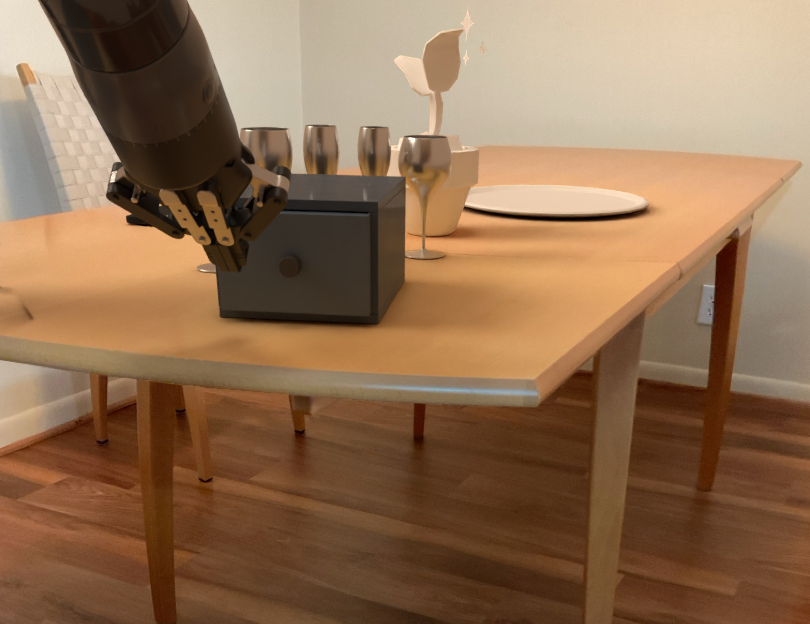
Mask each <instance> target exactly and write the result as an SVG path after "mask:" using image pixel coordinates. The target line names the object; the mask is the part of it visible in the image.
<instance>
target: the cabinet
mask: <svg viewBox="0 0 810 624" xmlns="http://www.w3.org/2000/svg"><path fill="white" fill-rule="evenodd" d="M252 193H253V187H252V186H251V185H250V184H249V185H248V187H247V188H246V189H245V191H244V192H243V194H242V195H241V196H240V198H239V199H238V201H237V202H236V204H237V207H238V208H244V204H245V203H246V202H247V200H248V199H249V198H250V197H251V195H252ZM284 209H286V210H317V211H349V212H369V213H368V214H370V215H371V314H370V315H369V316H346V315H324V314H301V313H279V312H256V311H233V310H221V300H220V288H219V276H218V265H215V267H216V273H215V276H216V288H217V289H216V290H217V300H218V313H219V317H220V318H237V319H240V318H241V319H258V320H280V321H281V320H282V321H283V320H284V321H305V322H323V323H324V322H328V323H345V324H346V323H347V324H349V323H350V324H369V325H370V324H371V325H379V323H380V322H381V321H382V319H383V317H384V315H385V314H386V312H387V310H388V309H389V307H390V306H391V304H392V302H393V300H394V299H395V297H396V295H397V294H398V292H399V291H400V289H401V287H402V286H403V284H404V282H405V281H406V257H405V251H406V231H405V213H406V177H400V176H363V175H362V174H360V175H359V174H358V175H357V174H356V175H355V174H337V175H326V174H307V173H291V179H290V185H289V192H288V198H287V204H286V206H285V208H284Z"/></svg>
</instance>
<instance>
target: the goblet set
mask: <svg viewBox="0 0 810 624" xmlns="http://www.w3.org/2000/svg"><path fill="white" fill-rule="evenodd" d="M303 129H304V131H303V138H302V139H303V140H302V155H303V162H304V167H305V171H306V174H326V175H338V170H339V165H340V151H341V150H340V139H339V133H338V128H337V125H335V124H306V125H304V128H303ZM402 137H403V140H402V144H401V147H400V151H399V156H398V168H399V172H400V175H401V177H406V184H407V185H408V186H409V187H410V188H411V189H412V191H413V192H414V193H415V195H416V196H417V198H418V200H419V203H420V207H421V213H422V236H421V248H419V249H411V250H405V258H409V259H413V260H415V259H416V260H435V259H440V258H442V257H445V253H444V252H442V251H439V250H436V249H435V250H434V249H427V248H426V236H425V227H426V214H427V209H428V205H429V202H430V200H431V198H432V196H433V195H434V193H435V192H436V191H437V190H438V189H439V188H440V187H441V186H442V184H443V183H444V182H445V181H446V180H447V178H448V177H449V175H450V172H451V169H452V154H451V149H450V145H449V141H448V138H447V137H446V136H439V135H418V134H410V135H409V134H408V135H404V136H402ZM239 138H240V140H241V142H242V143H243V144H244V145H245V146H246V147H247V148H248V149H249V150H250V151H251V152H252V154H253V156H254V159H255V164H256V165H258V166H260V167H262V168H264V169H266V170H269V171H272V170H273V169H274V167H276V166H285V167H287V168H289V169H290V171H291V172H292V167H293V158H294V157H293V155H294V154H293V142H292V137H291V132H290V128H288V127H281V126H280V127H279V126H250V127H242V128H240V133H239ZM391 140H392V139H391V133H390V128H389V126H384V125H383V126H382V125H381V126H380V125H364V126H363V125H362V126H360V127H359V130H358V137H357V161H358V166H359V170H360V174H361V175H363V176H387V173H388V170H389V166H390V161H391V145H392V141H391ZM196 270H197V271H199V272H203V273H211V274H212V273H213V274H214V273H215V274H216V267H215V265H214V264H212V263H211V262H205V263H201V264H199V265H198V266H197V267H196Z"/></svg>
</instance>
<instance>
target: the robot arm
mask: <svg viewBox="0 0 810 624" xmlns="http://www.w3.org/2000/svg"><path fill="white" fill-rule="evenodd" d="M37 1H38V3H39V6H40V8H41V9H42V11H43V13H44V15H45V16H46V19H47V21H48V22H49V24H50V26H51V28H52V30H53V32H54V33H55V35H56V37H57V38H58V40H59V42H60V44H61V46H62V48H63V49H64V52H65V54H66V56H67V58H68V62H69V63H70V66H71V69H72V72H73V75H74V78H75V81H76V82H77V83H78V84H77V85H78V86H79V88H80V90H81V93H82V94H83V96H84V98H85V99H86V101H87V103H88V104H89V107H90V108H91V110H92V112H93V113H94V115H95V117H96V120H97V121H98V123H99V125H100V127H101V129H102V130H103V131H104V134H105V136H106V137H107V139H108V141H109V143H110V145H111V147H112V149H113V150H114V152H115V154H116V155H117V158H118V160H119V161H115V162H113V164H112V167H111V171H110V174H109V177H108V181H107V189H106V192H105V198H106V200H108V201H110V203H113V204H114V205H115V206H117V207H119V208H121V209H123V210H124V211H126V212H128V213H130V214H133V215H134V216H136V217H138V218H140V219H141V220H143V221H145V222H146V223H148V224H150V226H152V227H153V228H155V229H157V230H158V231H160V232H162V233H163V234H165V235H167V236H169V237H170V238H172V239H175V240H181V239H183V238H184V237H185V235H186V236H191V237H192V239H193V240H194V241H195V243H196V244H199V245H201V247H202V248H203V251H204V253H205V255H206V257H207V259H208V261H209V263H212V264H214V265H218V267H219V269H220V271H221V272H241V268H242V266H246V262H247V256H248V250H249V244H248V242H247V241H254V240H256V239H257V238H258V236H259V235H260V234H261V233H262V232H263V231H264V230H265V229H266V228H267V226H268V225H269V224H270V223H271V222H272V221H273V220H274V219H275V218H276V216H277V215H278V214H279V213H280V212H281V211H282V210H283V209H284V208H285V206H286V204H287V198H288V192H289V185H290V179H291V174H292V170H291V171H290V169H289V168H287V167H285V166H276V167H274V169H273V170H272V171H269V170H266V169H264V168H262V167H260V166H258V165H256V164H255V159H254V156H253V154H252V152H251V151H250V150H249V149H248V148H247V147H246V146H245V145H244V144H243V143H242V142H241V140H240V133H239V129H238V126H237V121H236V119H235V116H234V114H233V111H232V108H231V105H230V102H229V99H228V97H227V93H226V91H225V89H224V86H223V83H222V80H221V77H220V74H219V71H218V69H217V66H216V64H215V61H214V60H215V59H214V57H213V54H212V52H211V49H210V46H209V43H208V40H207V37H206V35H205V32H204V30H203V28H202V26H201V24H200V22H199V19H198V18H197V17H196V14H195V13H194V11H193V9H192V8H191V7H192V6H191V5H190V3H189V0H37ZM249 184H250V185H251V186H252V187H253V193H252V195H251V197H250V198H249V199H248V200H247V202H246V203H245V204H244V208H243V209H239V210H238V207H237V204H236V202H237V201H238V199H239V198H240V196H241V195H242V194H243V192H244V191H245V189H246V188H247V187H248V185H249ZM159 206H164V207H166V208H167V209H169V210H171V215H170V218H168V217H167V216H165V215H163V214H162V213H161V212H160V211H159ZM148 224H147V225H148Z"/></svg>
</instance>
